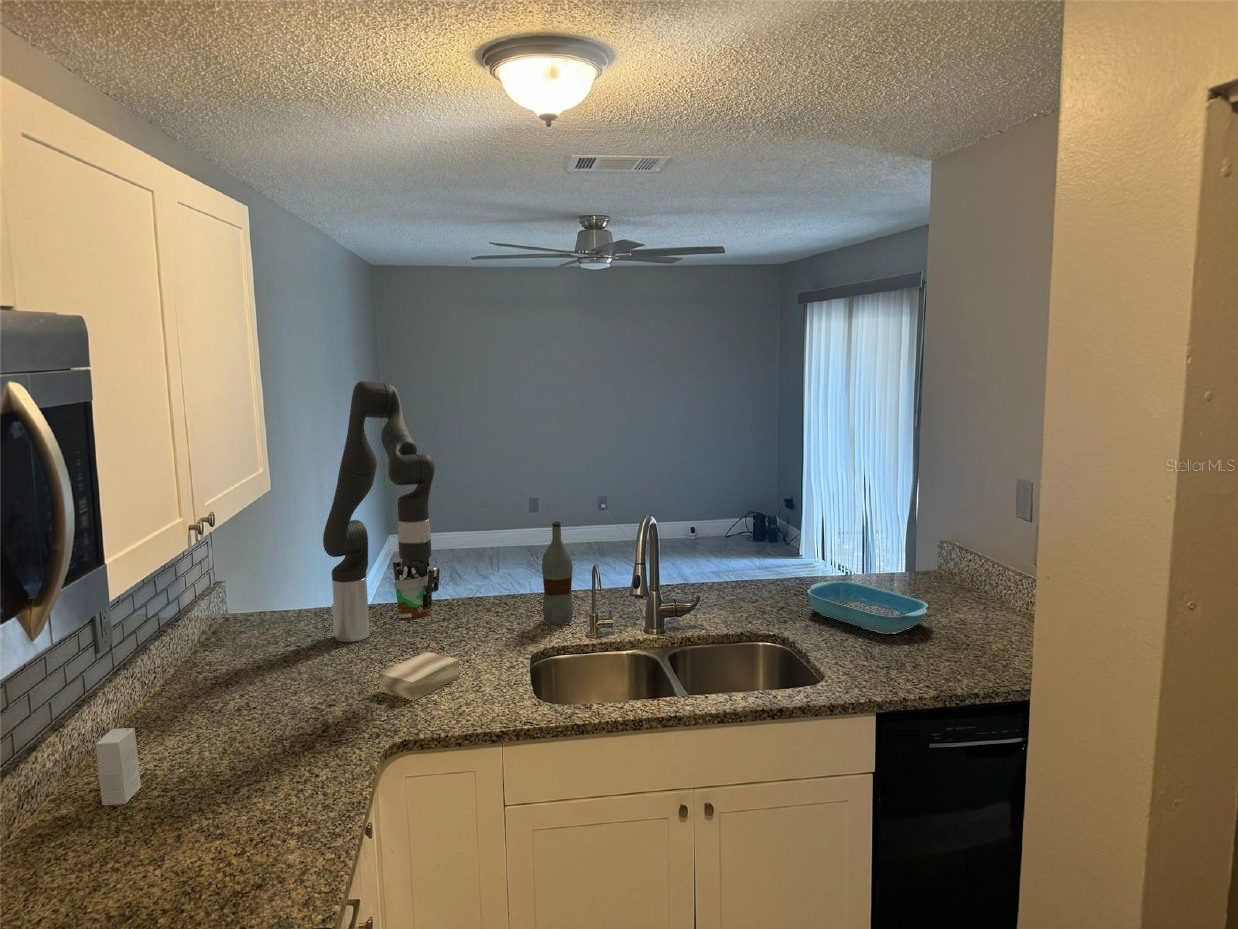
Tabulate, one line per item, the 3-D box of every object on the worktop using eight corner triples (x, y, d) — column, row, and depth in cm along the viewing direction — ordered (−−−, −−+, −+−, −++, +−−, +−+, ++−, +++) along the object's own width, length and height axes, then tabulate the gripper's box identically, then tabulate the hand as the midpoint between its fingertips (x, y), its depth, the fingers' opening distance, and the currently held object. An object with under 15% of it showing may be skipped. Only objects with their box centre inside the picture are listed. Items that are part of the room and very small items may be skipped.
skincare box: (117, 788, 156) (111, 728, 155) (141, 787, 157) (135, 727, 155) (100, 806, 150) (94, 743, 149) (125, 805, 151) (119, 742, 149)
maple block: (379, 693, 199) (378, 673, 199) (427, 670, 213) (426, 651, 212) (413, 702, 194) (412, 682, 193) (459, 678, 207) (459, 659, 207)
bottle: (556, 614, 255) (554, 518, 251) (580, 619, 250) (578, 521, 246) (536, 622, 248) (534, 523, 243) (560, 628, 242) (558, 527, 238)
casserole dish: (942, 627, 242) (943, 603, 241) (898, 645, 228) (899, 620, 227) (837, 598, 270) (838, 576, 269) (792, 612, 256) (792, 589, 255)
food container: (420, 624, 194) (418, 582, 192) (396, 622, 195) (393, 580, 194) (443, 608, 206) (441, 568, 204) (420, 606, 207) (418, 567, 206)
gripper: (381, 537, 199) (385, 605, 202) (423, 545, 191) (426, 615, 194) (406, 531, 205) (409, 597, 208) (447, 538, 197) (450, 607, 200)
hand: (417, 606), depth 201 cm, fingers closed on food container, 6 cm apart
